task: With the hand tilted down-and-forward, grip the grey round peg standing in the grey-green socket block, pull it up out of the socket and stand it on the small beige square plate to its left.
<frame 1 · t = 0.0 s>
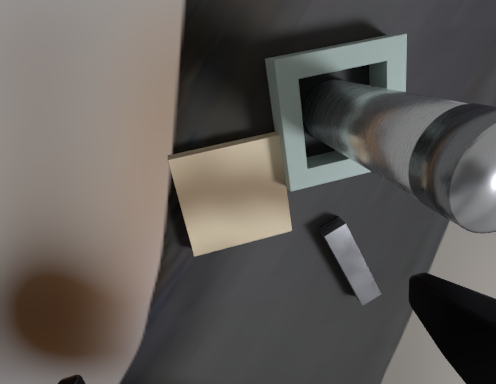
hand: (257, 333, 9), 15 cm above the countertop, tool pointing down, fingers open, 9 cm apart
grey round peg: (388, 133, 17), in the socket
socket: (331, 111, 23), on the countertop
beige square plate: (232, 192, 24), on the countertop
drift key: (347, 258, 28), on the countertop
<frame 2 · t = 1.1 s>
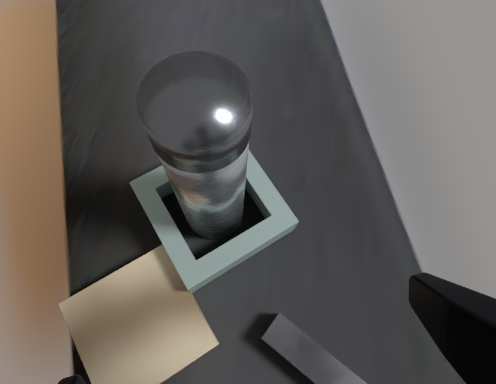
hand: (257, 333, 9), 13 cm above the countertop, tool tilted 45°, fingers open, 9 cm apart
grey round peg: (208, 173, 18), in the socket
socket: (214, 211, 24), on the countertop
beige square plate: (141, 324, 22), on the countertop
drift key: (321, 369, 21), on the countertop
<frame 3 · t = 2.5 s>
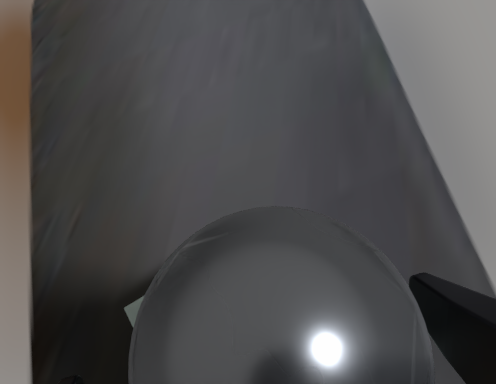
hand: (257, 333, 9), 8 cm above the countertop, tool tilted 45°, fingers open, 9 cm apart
grey round peg: (256, 341, 11), in the socket
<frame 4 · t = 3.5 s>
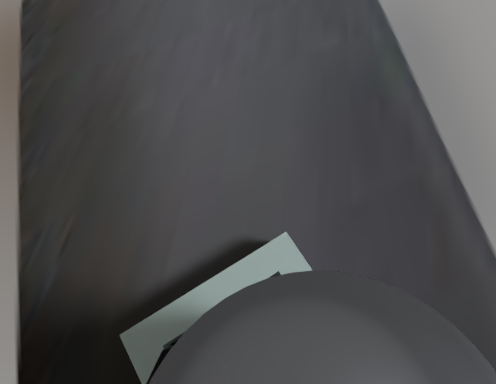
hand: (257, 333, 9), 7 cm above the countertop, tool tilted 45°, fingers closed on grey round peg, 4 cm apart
socket: (256, 365, 15), on the countertop
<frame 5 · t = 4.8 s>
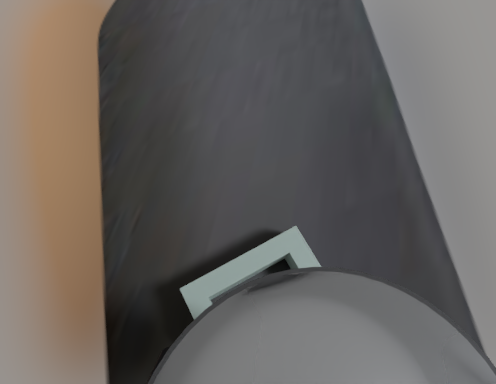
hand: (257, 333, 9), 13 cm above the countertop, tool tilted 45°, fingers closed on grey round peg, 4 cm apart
socket: (269, 318, 22), on the countertop
when the fingers open (9 cm above the countertop, at t = 6.4 s): grey round peg stays where it is, resting on beige square plate.
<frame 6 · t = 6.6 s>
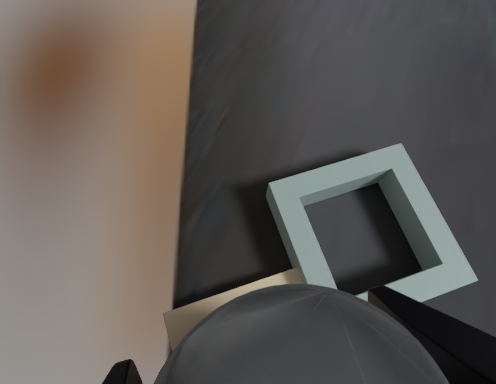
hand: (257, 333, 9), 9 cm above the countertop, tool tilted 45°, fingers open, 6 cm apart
socket: (356, 239, 20), on the countertop
beige square plate: (253, 361, 17), on the countertop
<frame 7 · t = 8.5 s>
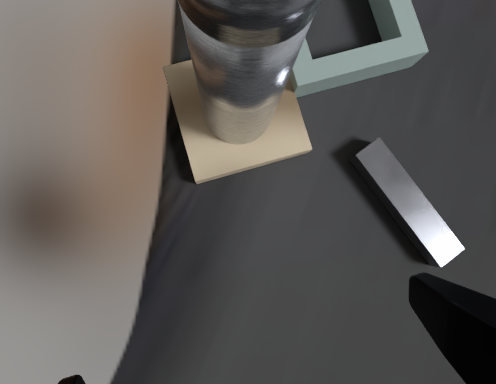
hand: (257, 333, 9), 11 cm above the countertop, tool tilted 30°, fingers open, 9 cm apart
grey round peg: (242, 56, 14), on the beige square plate, point 8 cm above the countertop
socket: (332, 24, 22), on the countertop
beige square plate: (237, 113, 21), on the countertop
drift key: (399, 202, 21), on the countertop
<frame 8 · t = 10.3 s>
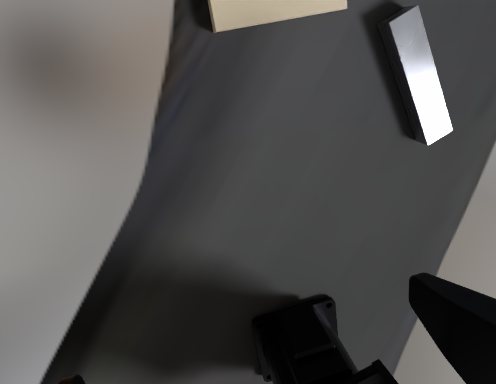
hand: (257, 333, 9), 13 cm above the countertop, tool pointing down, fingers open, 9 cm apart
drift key: (410, 79, 22), on the countertop
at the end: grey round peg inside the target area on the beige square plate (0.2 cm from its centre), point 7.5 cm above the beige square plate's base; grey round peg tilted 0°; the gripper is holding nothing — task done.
